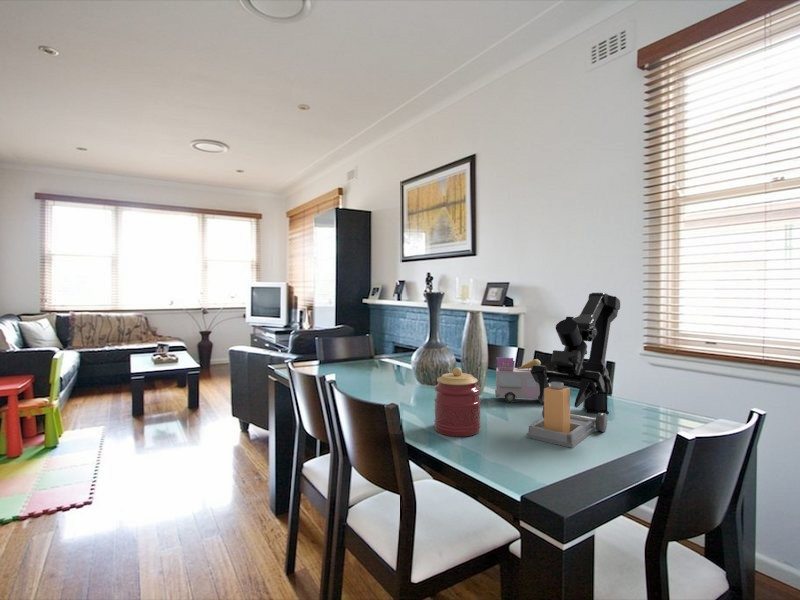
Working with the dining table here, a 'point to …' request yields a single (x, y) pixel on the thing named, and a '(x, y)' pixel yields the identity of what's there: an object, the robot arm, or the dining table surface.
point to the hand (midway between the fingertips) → (557, 403)
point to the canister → (457, 404)
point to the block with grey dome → (557, 407)
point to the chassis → (578, 430)
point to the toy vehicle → (516, 381)
